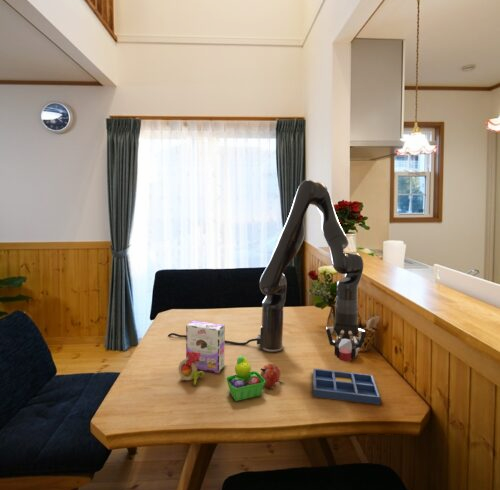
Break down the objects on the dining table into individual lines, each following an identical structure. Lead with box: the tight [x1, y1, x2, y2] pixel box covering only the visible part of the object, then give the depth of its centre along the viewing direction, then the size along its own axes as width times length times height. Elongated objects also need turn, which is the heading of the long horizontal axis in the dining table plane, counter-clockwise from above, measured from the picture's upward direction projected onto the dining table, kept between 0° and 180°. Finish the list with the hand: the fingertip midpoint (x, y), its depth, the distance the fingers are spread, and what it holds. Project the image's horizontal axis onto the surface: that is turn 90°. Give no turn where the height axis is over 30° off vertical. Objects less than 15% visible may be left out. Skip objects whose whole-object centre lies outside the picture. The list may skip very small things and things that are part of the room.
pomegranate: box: [259, 363, 282, 389], centre depth 120 cm, size 7×7×10 cm
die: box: [339, 336, 361, 358], centre depth 144 cm, size 8×9×10 cm
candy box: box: [185, 320, 226, 374], centre depth 131 cm, size 14×6×16 cm, turn 71°
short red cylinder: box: [338, 348, 352, 362], centre depth 122 cm, size 4×4×3 cm
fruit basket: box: [225, 355, 265, 402], centre depth 114 cm, size 11×9×11 cm
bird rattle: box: [178, 351, 205, 386], centre depth 121 cm, size 6×11×9 cm
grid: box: [312, 368, 381, 405], centre depth 119 cm, size 21×14×2 cm
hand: (344, 357), depth 122 cm, fingers closed on short red cylinder, 4 cm apart
